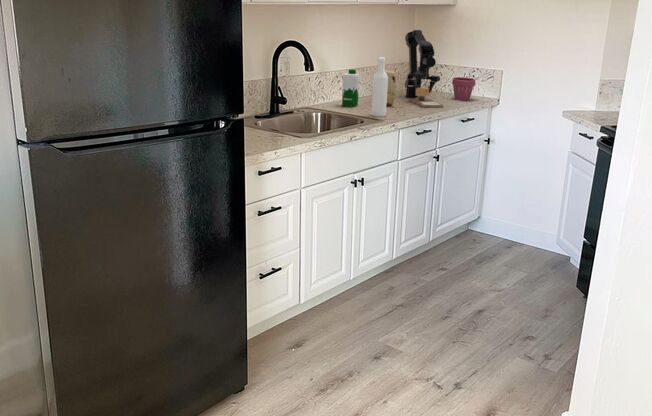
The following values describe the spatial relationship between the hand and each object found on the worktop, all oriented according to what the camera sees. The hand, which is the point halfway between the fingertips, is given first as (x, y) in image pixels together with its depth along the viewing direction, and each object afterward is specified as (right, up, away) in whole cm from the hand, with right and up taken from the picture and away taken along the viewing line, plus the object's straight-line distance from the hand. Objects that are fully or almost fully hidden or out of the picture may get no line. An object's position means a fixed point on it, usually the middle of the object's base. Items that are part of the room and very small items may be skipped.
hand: (422, 92), depth 373 cm
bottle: (-29, -20, -40) cm, 54 cm away
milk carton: (-44, -11, -15) cm, 48 cm away
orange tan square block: (0, -2, +1) cm, 2 cm away
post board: (+1, -8, -4) cm, 9 cm away
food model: (-22, -10, -11) cm, 27 cm away
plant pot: (+27, -2, +17) cm, 32 cm away
